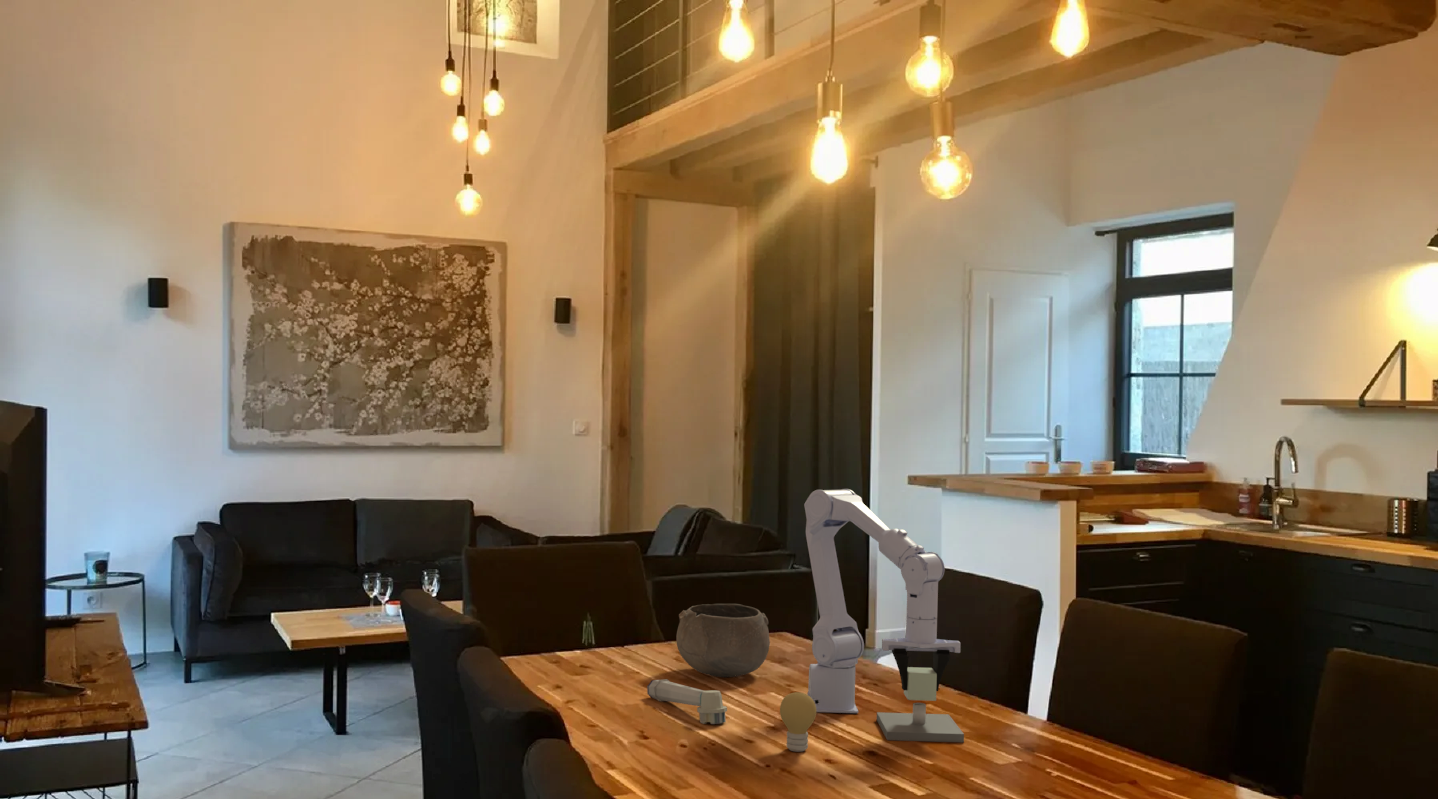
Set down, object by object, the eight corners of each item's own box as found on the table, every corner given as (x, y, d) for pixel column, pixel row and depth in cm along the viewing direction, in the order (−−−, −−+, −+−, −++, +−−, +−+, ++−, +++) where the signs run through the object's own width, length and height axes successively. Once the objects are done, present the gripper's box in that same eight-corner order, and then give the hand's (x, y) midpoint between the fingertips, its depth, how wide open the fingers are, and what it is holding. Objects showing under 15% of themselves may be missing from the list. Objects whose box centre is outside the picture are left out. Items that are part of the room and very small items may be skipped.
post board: (887, 740, 209) (887, 712, 209) (876, 720, 223) (877, 694, 223) (963, 742, 209) (964, 714, 209) (948, 722, 223) (949, 696, 223)
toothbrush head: (665, 677, 239) (731, 685, 218) (666, 710, 238) (733, 721, 217) (643, 679, 236) (708, 688, 215) (644, 713, 235) (709, 725, 214)
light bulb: (820, 754, 199) (822, 696, 199) (786, 756, 197) (787, 697, 197) (807, 744, 205) (809, 687, 205) (773, 745, 203) (775, 689, 204)
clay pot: (785, 673, 262) (786, 607, 263) (737, 690, 245) (739, 619, 245) (707, 661, 274) (709, 597, 274) (657, 676, 256) (659, 608, 256)
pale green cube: (908, 699, 214) (908, 673, 214) (903, 693, 219) (904, 667, 219) (936, 700, 214) (936, 673, 214) (931, 694, 219) (931, 667, 219)
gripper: (886, 619, 213) (884, 693, 212) (964, 622, 213) (962, 695, 212) (881, 613, 220) (879, 684, 219) (956, 615, 220) (955, 686, 219)
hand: (919, 689), depth 216 cm, fingers closed on pale green cube, 5 cm apart
